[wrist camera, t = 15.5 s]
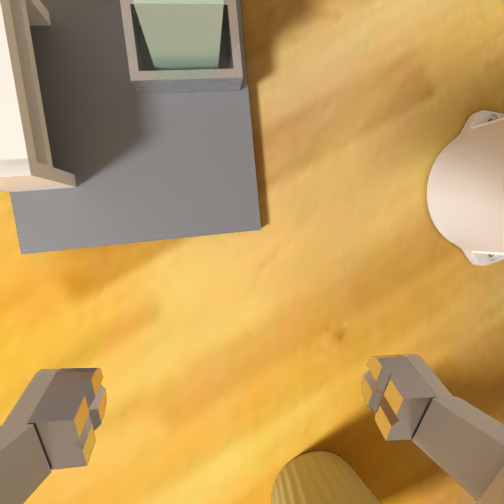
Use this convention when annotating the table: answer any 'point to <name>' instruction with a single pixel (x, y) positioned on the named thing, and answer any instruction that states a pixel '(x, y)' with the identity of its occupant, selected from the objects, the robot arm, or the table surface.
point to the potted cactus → (320, 482)
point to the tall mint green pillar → (182, 32)
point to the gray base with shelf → (113, 136)
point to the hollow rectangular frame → (183, 78)
